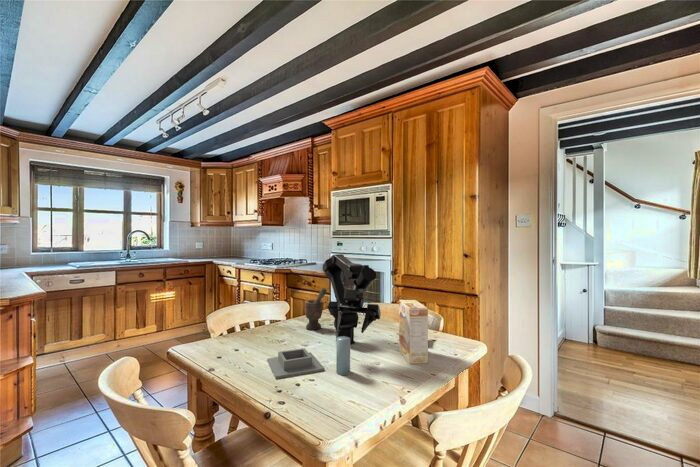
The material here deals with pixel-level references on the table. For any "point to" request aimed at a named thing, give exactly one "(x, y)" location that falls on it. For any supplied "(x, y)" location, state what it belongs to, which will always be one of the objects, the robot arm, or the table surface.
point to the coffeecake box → (413, 331)
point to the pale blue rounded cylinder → (343, 355)
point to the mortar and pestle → (314, 311)
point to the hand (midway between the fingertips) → (349, 331)
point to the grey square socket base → (294, 363)
